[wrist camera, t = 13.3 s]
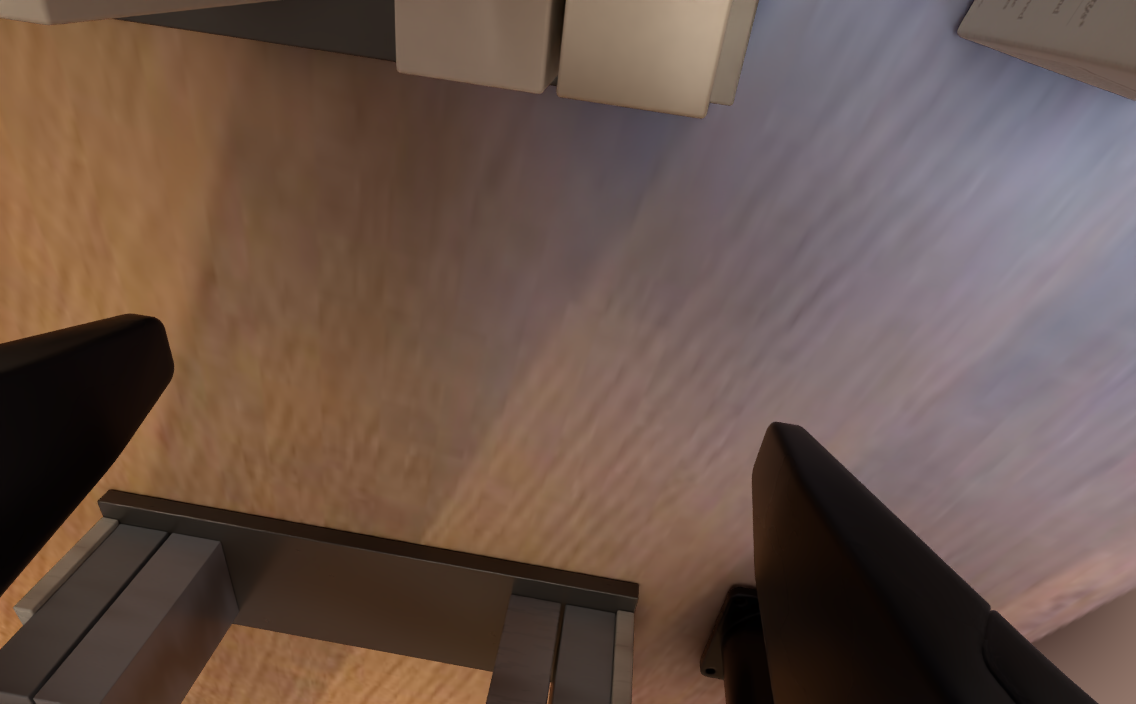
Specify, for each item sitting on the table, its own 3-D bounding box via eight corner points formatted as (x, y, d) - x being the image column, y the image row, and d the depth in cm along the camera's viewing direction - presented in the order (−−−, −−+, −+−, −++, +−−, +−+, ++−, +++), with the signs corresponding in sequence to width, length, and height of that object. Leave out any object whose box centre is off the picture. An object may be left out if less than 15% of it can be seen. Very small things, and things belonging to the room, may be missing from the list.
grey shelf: (611, 679, 33) (599, 884, 26) (148, 594, 34) (9, 768, 27) (639, 583, 29) (633, 796, 22) (109, 489, 30) (-71, 662, 23)
